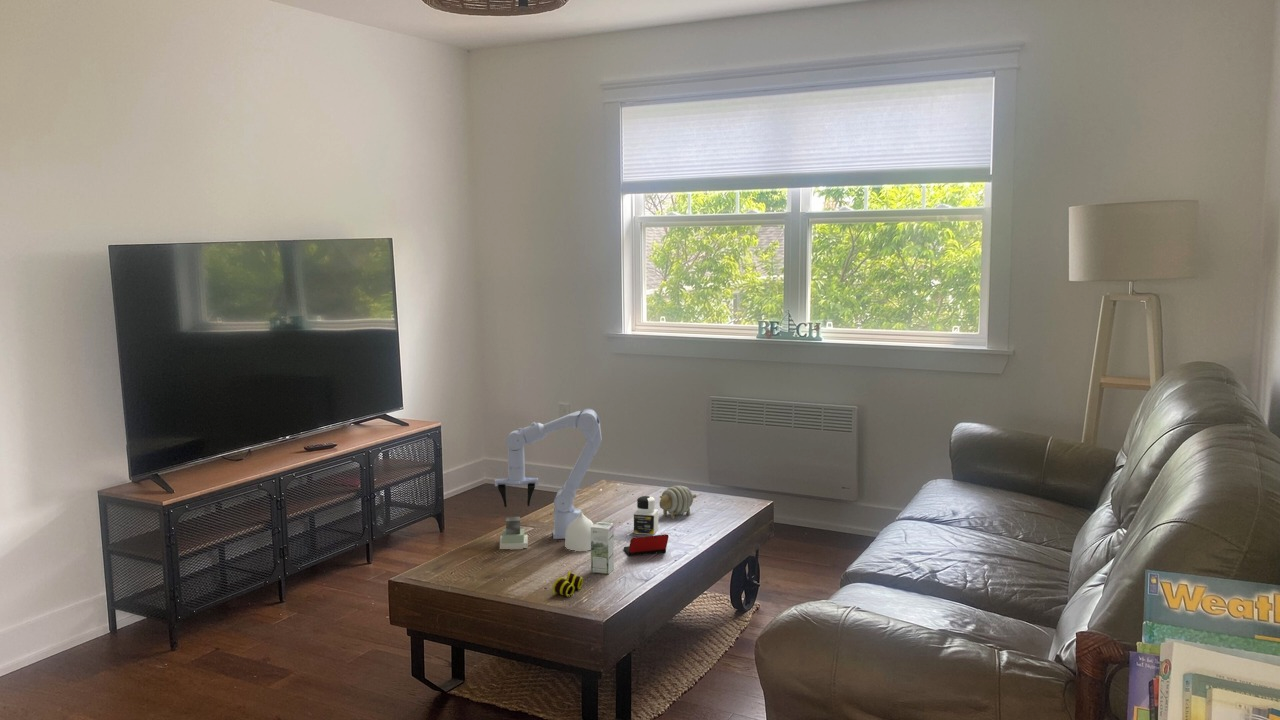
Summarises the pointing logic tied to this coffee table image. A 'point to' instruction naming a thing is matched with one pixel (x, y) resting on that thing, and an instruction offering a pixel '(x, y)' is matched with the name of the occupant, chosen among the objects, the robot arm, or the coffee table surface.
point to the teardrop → (579, 534)
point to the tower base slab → (514, 544)
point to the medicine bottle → (646, 516)
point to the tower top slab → (513, 537)
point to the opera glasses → (567, 584)
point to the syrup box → (602, 547)
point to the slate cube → (512, 525)
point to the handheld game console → (647, 545)
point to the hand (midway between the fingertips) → (517, 505)
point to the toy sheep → (676, 500)
